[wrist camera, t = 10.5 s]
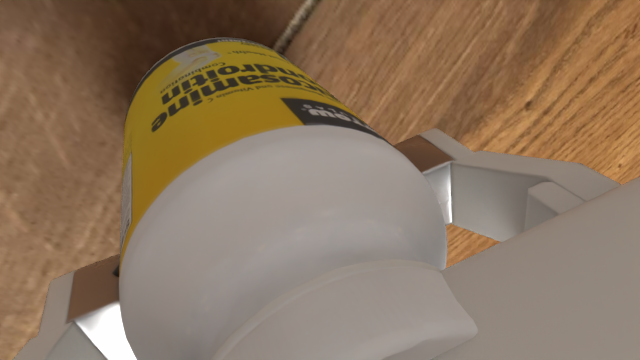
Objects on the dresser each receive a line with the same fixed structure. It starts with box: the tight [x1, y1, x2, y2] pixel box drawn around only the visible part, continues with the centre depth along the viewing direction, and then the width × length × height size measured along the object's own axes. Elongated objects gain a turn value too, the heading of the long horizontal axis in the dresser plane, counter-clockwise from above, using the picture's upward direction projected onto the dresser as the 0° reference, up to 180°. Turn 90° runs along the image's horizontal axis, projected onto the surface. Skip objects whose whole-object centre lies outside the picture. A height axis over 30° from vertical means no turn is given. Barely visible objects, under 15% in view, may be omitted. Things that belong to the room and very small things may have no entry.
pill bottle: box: [119, 38, 478, 360], centre depth 10 cm, size 6×6×12 cm
